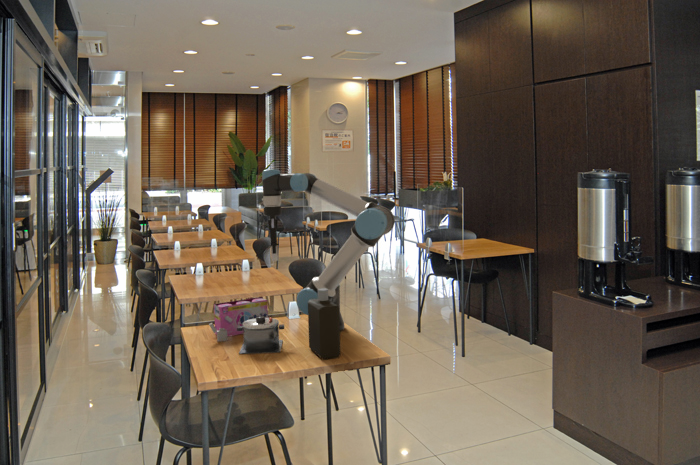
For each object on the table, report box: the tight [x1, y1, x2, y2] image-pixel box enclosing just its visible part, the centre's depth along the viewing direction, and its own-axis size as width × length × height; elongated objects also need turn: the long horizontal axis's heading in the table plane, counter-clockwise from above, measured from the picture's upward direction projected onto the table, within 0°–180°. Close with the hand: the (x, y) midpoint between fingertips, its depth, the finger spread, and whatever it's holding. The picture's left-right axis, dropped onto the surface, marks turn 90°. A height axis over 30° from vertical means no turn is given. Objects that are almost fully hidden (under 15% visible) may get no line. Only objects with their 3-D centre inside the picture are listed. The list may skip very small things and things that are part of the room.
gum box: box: [213, 296, 269, 337], centre depth 247 cm, size 24×8×14 cm, turn 123°
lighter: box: [208, 322, 228, 342], centre depth 233 cm, size 7×2×8 cm, turn 104°
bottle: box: [307, 288, 341, 361], centre depth 213 cm, size 8×16×25 cm, turn 22°
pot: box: [237, 324, 285, 355], centre depth 224 cm, size 19×18×9 cm
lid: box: [243, 316, 280, 330], centre depth 223 cm, size 14×15×3 cm
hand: (274, 260), depth 238 cm, fingers closed
